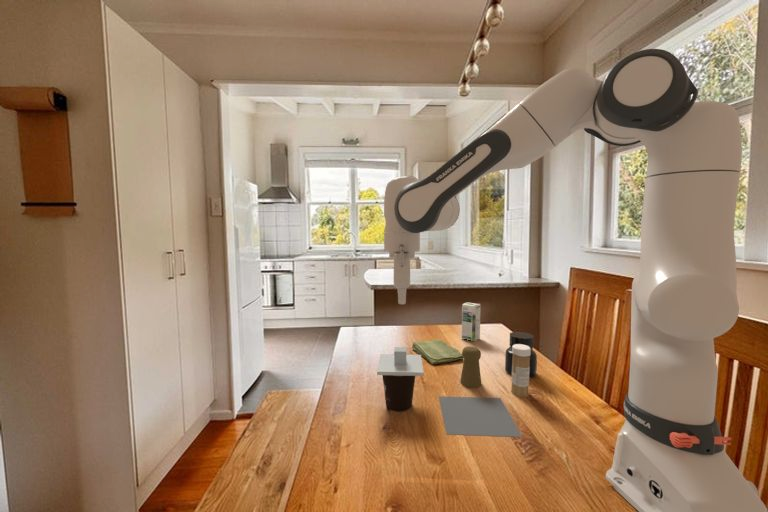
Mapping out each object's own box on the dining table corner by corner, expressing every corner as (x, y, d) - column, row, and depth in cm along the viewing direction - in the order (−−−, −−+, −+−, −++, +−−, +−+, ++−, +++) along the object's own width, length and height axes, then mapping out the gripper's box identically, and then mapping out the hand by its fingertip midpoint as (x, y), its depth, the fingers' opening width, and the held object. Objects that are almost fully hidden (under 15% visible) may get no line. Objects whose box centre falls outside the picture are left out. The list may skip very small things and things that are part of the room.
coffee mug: (411, 419, 77) (411, 378, 76) (376, 412, 79) (376, 372, 79) (421, 395, 88) (422, 359, 87) (391, 390, 90) (391, 355, 90)
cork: (482, 391, 90) (483, 352, 89) (460, 389, 91) (460, 350, 90) (480, 381, 96) (481, 344, 95) (459, 379, 97) (460, 343, 96)
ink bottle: (542, 374, 100) (544, 336, 99) (528, 382, 95) (530, 342, 94) (512, 364, 108) (513, 328, 107) (498, 371, 102) (499, 334, 101)
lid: (423, 375, 77) (423, 358, 77) (377, 375, 77) (377, 357, 77) (420, 357, 88) (420, 342, 88) (380, 356, 88) (380, 341, 88)
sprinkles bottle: (511, 389, 90) (512, 342, 89) (529, 392, 89) (530, 344, 88) (510, 397, 86) (511, 348, 85) (529, 400, 84) (530, 350, 83)
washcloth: (432, 367, 106) (432, 357, 106) (409, 348, 123) (409, 340, 122) (466, 361, 111) (466, 352, 110) (440, 344, 127) (440, 336, 127)
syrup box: (460, 339, 132) (461, 304, 131) (467, 335, 137) (467, 301, 135) (474, 342, 128) (474, 306, 127) (480, 338, 133) (481, 303, 132)
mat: (522, 439, 69) (522, 437, 69) (446, 437, 70) (446, 434, 70) (500, 400, 85) (500, 398, 85) (438, 398, 86) (438, 396, 86)
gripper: (416, 246, 70) (416, 309, 71) (413, 242, 90) (413, 291, 91) (387, 246, 70) (387, 309, 71) (390, 242, 91) (390, 291, 92)
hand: (402, 299), depth 82 cm, fingers open, 8 cm apart
